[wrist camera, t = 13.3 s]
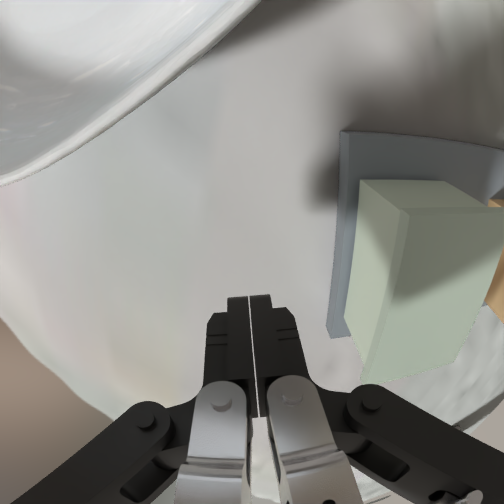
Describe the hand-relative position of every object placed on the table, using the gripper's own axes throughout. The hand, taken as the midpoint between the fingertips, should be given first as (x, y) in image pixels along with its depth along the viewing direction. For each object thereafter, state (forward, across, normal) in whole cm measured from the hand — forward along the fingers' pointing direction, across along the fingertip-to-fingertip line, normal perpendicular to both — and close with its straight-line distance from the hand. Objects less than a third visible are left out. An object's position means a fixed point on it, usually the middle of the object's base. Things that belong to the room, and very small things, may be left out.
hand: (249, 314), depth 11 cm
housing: (+4, -8, 0) cm, 9 cm away
